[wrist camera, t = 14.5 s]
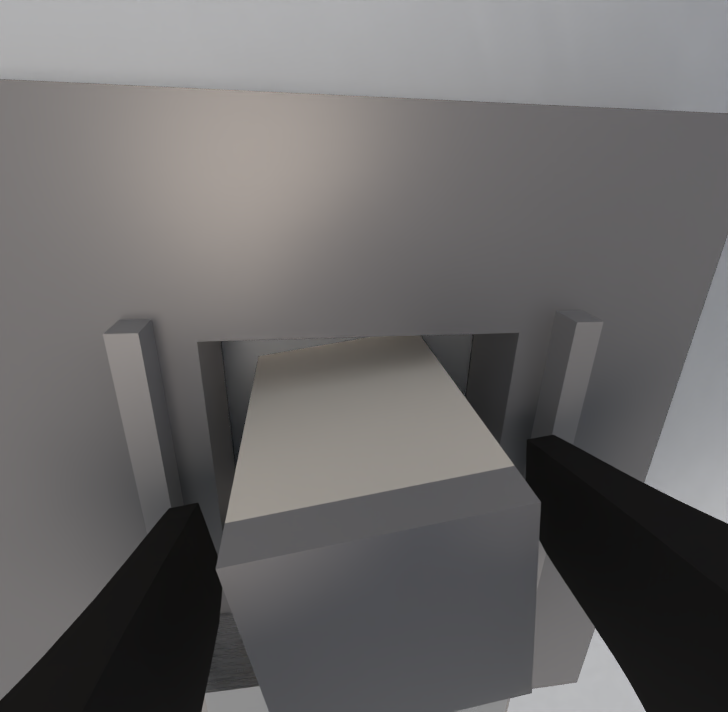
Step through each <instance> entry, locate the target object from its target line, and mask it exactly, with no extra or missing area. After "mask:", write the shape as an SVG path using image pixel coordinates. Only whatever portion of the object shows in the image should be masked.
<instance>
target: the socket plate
mask: <svg viewBox="0 0 728 712" xmlns="http://www.w3.org/2000/svg"><path fill="white" fill-rule="evenodd" d="M727 235H728V113H707V112H685V111H664V110H643V109H622V108H600V107H579V106H558V105H537V104H515V103H494V102H473V101H452V100H430V99H409V98H388V97H367V96H345V95H324V94H303V93H282V92H260V91H239V90H218V89H197V88H175V87H154V86H133V85H112V84H91V83H69V82H48V81H27V80H6V79H0V700H1V699H2V698H3V697H4V696H5V695H6V694H7V693H8V692H9V691H10V690H11V689H12V688H13V687H14V686H15V685H16V684H17V683H18V682H19V681H20V680H21V679H22V678H23V677H24V676H25V675H26V674H27V673H28V672H29V671H30V670H31V668H32V667H33V666H34V665H35V664H36V663H37V662H38V661H39V660H40V659H41V658H42V657H43V656H44V655H45V654H46V652H47V651H48V650H49V649H50V648H51V647H52V646H53V645H54V644H55V642H56V641H57V640H58V639H59V638H60V637H61V636H62V635H63V633H64V632H65V631H66V630H67V629H68V628H69V627H70V626H71V624H72V623H73V622H74V621H75V620H76V619H77V618H78V617H79V616H80V614H81V613H82V612H83V611H84V610H85V609H86V608H87V607H88V605H89V604H90V603H91V602H92V601H93V600H94V599H95V597H96V596H97V595H98V594H99V593H100V592H101V590H102V589H103V588H104V587H105V585H106V584H107V583H108V582H109V581H110V579H111V578H112V577H113V576H114V575H115V573H116V572H117V571H118V570H119V569H120V567H121V566H122V565H123V564H124V563H125V561H126V560H127V559H128V558H129V557H130V555H131V554H132V553H133V552H134V550H135V549H136V548H137V547H138V545H139V544H140V543H141V542H142V540H143V539H144V538H145V537H146V535H147V534H148V533H149V532H150V531H151V529H152V528H153V527H154V526H155V524H156V523H157V522H158V521H159V519H160V518H161V517H162V516H163V515H164V514H165V512H166V511H167V510H168V509H169V508H173V507H178V506H183V505H188V504H194V503H199V506H200V508H201V511H202V514H203V516H204V519H205V522H206V525H207V527H208V530H209V533H210V536H211V538H212V541H213V544H214V547H215V549H216V552H217V555H219V550H220V545H221V540H222V535H223V530H224V525H225V520H226V515H227V510H228V505H229V500H230V495H231V490H232V485H233V480H234V476H235V463H234V454H233V445H232V436H231V427H230V418H229V409H228V400H227V391H226V382H225V373H224V364H223V355H222V346H221V341H241V340H277V339H313V338H350V337H386V336H423V335H459V334H474V337H473V345H472V353H471V361H470V368H469V376H468V384H467V392H466V399H467V401H468V402H469V403H470V405H471V406H472V408H473V409H474V410H475V412H476V413H477V414H478V416H479V417H480V419H481V420H482V421H483V423H484V424H485V426H486V427H487V428H488V430H489V431H490V432H491V434H492V435H493V437H494V438H495V439H496V441H497V442H498V443H499V445H500V446H501V448H502V449H503V450H504V452H505V453H506V454H507V456H508V457H509V459H510V460H511V461H512V463H513V464H514V466H515V467H516V468H517V470H518V471H519V472H520V474H521V475H522V477H523V478H524V479H525V480H526V447H527V439H532V438H538V437H543V436H548V435H555V436H557V437H559V438H561V439H563V440H565V441H567V442H569V443H571V444H573V445H574V446H576V447H578V448H580V449H582V450H584V451H586V452H587V453H589V454H591V455H593V456H595V457H597V458H598V459H600V460H602V461H604V462H606V463H607V464H609V465H611V466H613V467H615V468H617V469H619V470H620V471H622V472H624V473H626V474H628V475H630V476H632V477H633V478H635V479H637V480H639V481H641V482H643V483H644V481H645V478H646V475H647V472H648V469H649V466H650V463H651V460H652V457H653V454H654V451H655V448H656V446H657V443H658V440H659V437H660V434H661V431H662V428H663V425H664V422H665V419H666V416H667V413H668V410H669V407H670V404H671V401H672V398H673V395H674V392H675V389H676V386H677V383H678V380H679V377H680V374H681V371H682V368H683V365H684V362H685V359H686V356H687V353H688V350H689V348H690V345H691V342H692V339H693V336H694V333H695V330H696V327H697V324H698V321H699V318H700V315H701V312H702V309H703V306H704V303H705V300H706V297H707V294H708V291H709V288H710V285H711V282H712V279H713V276H714V273H715V270H716V267H717V264H718V261H719V258H720V255H721V252H722V250H723V247H724V244H725V241H726V238H727ZM224 613H232V612H231V609H230V606H229V604H228V601H227V598H226V596H225V593H224V590H223V588H222V600H221V610H220V614H224ZM594 630H595V627H594V625H593V624H592V622H591V621H590V619H589V618H588V616H587V615H586V613H585V612H584V610H583V609H582V607H581V606H580V604H579V603H578V601H577V600H576V598H575V597H574V595H573V594H572V592H571V591H570V589H569V588H568V586H567V585H566V583H565V582H564V580H563V578H562V577H561V575H560V574H559V572H558V571H557V569H556V568H555V566H554V565H553V563H552V562H551V560H550V558H549V557H548V555H547V554H546V552H545V550H544V548H543V546H542V544H541V542H540V540H539V553H538V574H537V594H536V615H535V635H534V656H533V676H532V689H534V688H541V687H548V686H555V685H562V684H569V683H576V682H577V680H578V677H579V674H580V671H581V668H582V665H583V662H584V659H585V656H586V653H587V650H588V647H589V644H590V642H591V639H592V636H593V633H594ZM509 701H510V698H509V699H508V700H507V704H506V708H505V712H507V709H508V705H509ZM202 712H208V710H207V705H206V700H205V697H204V702H203V707H202Z"/></svg>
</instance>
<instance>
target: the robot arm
mask: <svg viewBox="0 0 728 712" xmlns="http://www.w3.org/2000/svg"><path fill="white" fill-rule="evenodd" d="M525 481H526V482H527V483H528V485H529V486H530V488H531V489H532V490H533V492H534V493H535V494H536V496H537V497H538V499H539V500H540V501H541V512H540V532H539V540H540V542H541V544H542V546H543V548H544V550H545V552H546V554H547V555H548V557H549V558H550V560H551V562H552V563H553V565H554V566H555V568H556V569H557V571H558V572H559V574H560V575H561V577H562V578H563V580H564V582H565V583H566V585H567V586H568V588H569V589H570V591H571V592H572V594H573V595H574V597H575V598H576V600H577V601H578V603H579V604H580V606H581V607H582V609H583V610H584V612H585V613H586V615H587V616H588V618H589V619H590V621H591V622H592V624H593V625H594V627H595V628H596V630H597V631H598V633H599V634H600V636H601V637H602V639H603V640H604V642H605V643H606V645H607V646H608V648H609V649H610V651H611V652H612V654H613V655H614V657H615V659H616V660H617V662H618V664H619V665H620V667H621V668H622V670H623V672H624V673H625V675H626V677H627V678H628V680H629V682H630V683H631V685H632V687H633V689H634V691H635V692H636V694H637V696H638V698H639V700H640V701H641V703H642V705H643V707H644V709H645V711H646V712H728V524H727V523H725V522H723V521H721V520H718V519H716V518H714V517H712V516H710V515H708V514H706V513H704V512H701V511H699V510H697V509H695V508H693V507H691V506H689V505H687V504H685V503H682V502H680V501H678V500H676V499H674V498H672V497H670V496H668V495H666V494H664V493H662V492H660V491H658V490H656V489H654V488H653V487H651V486H649V485H647V484H645V483H643V482H641V481H639V480H637V479H635V478H633V477H632V476H630V475H628V474H626V473H624V472H622V471H620V470H619V469H617V468H615V467H613V466H611V465H609V464H607V463H606V462H604V461H602V460H600V459H598V458H597V457H595V456H593V455H591V454H589V453H587V452H586V451H584V450H582V449H580V448H578V447H576V446H574V445H573V444H571V443H569V442H567V441H565V440H563V439H561V438H559V437H557V436H555V435H548V436H543V437H538V438H532V439H527V447H526V480H525ZM217 560H218V555H217V552H216V549H215V547H214V544H213V541H212V538H211V536H210V533H209V530H208V527H207V525H206V522H205V519H204V516H203V514H202V511H201V508H200V506H199V503H194V504H188V505H183V506H178V507H173V508H169V509H168V510H167V511H166V512H165V514H164V515H163V516H162V517H161V518H160V519H159V521H158V522H157V523H156V524H155V526H154V527H153V528H152V529H151V531H150V532H149V533H148V534H147V535H146V537H145V538H144V539H143V540H142V542H141V543H140V544H139V545H138V547H137V548H136V549H135V550H134V552H133V553H132V554H131V555H130V557H129V558H128V559H127V560H126V561H125V563H124V564H123V565H122V566H121V567H120V569H119V570H118V571H117V572H116V573H115V575H114V576H113V577H112V578H111V579H110V581H109V582H108V583H107V584H106V585H105V587H104V588H103V589H102V590H101V592H100V593H99V594H98V595H97V596H96V597H95V599H94V600H93V601H92V602H91V603H90V604H89V605H88V607H87V608H86V609H85V610H84V611H83V612H82V613H81V614H80V616H79V617H78V618H77V619H76V620H75V621H74V622H73V623H72V624H71V626H70V627H69V628H68V629H67V630H66V631H65V632H64V633H63V635H62V636H61V637H60V638H59V639H58V640H57V641H56V642H55V644H54V645H53V646H52V647H51V648H50V649H49V650H48V651H47V652H46V654H45V655H44V656H43V657H42V658H41V659H40V660H39V661H38V662H37V663H36V664H35V665H34V666H33V667H32V668H31V670H30V671H29V672H28V673H27V674H26V675H25V676H24V677H23V678H22V679H21V680H20V681H19V682H18V683H17V684H16V685H15V686H14V687H13V688H12V689H11V690H10V691H9V692H8V693H7V694H6V695H5V696H4V697H3V698H2V699H1V700H0V712H202V707H203V702H204V697H205V692H206V687H207V682H208V677H209V673H210V668H211V663H212V658H213V653H214V647H215V642H216V637H217V632H218V627H219V621H220V610H221V600H222V585H221V582H220V580H219V577H218V574H217V572H216V565H217Z"/></svg>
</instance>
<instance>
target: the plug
mask: <svg viewBox="0 0 728 712" xmlns="http://www.w3.org/2000/svg"><path fill="white" fill-rule="evenodd" d="M540 512H541V501H540V500H539V499H538V497H537V496H536V494H535V493H534V492H533V490H532V489H531V488H530V486H529V485H528V483H527V482H526V481H525V479H524V478H523V477H522V475H521V474H520V472H519V471H518V470H517V468H516V467H515V466H514V464H513V463H512V461H511V460H510V459H509V457H508V456H507V454H506V453H505V452H504V450H503V449H502V448H501V446H500V445H499V443H498V442H497V441H496V439H495V438H494V437H493V435H492V434H491V432H490V431H489V430H488V428H487V427H486V426H485V424H484V423H483V421H482V420H481V419H480V417H479V416H478V414H477V413H476V412H475V410H474V409H473V408H472V406H471V405H470V403H469V402H468V401H467V399H466V398H465V397H464V395H463V394H462V392H461V391H460V390H459V388H458V387H457V386H456V384H455V383H454V381H453V380H452V379H451V377H450V376H449V374H448V373H447V372H446V370H445V369H444V368H443V366H442V365H441V363H440V362H439V361H438V359H437V358H436V357H435V355H434V354H433V352H432V351H431V350H430V348H429V347H428V346H427V344H426V343H425V341H424V340H423V339H422V337H421V336H386V337H367V338H361V339H355V340H349V341H344V342H338V343H332V344H326V345H320V346H314V347H309V348H303V349H297V350H291V351H285V352H279V353H274V354H268V355H262V356H259V357H258V362H257V367H256V372H255V377H254V382H253V386H252V391H251V396H250V401H249V406H248V411H247V416H246V421H245V426H244V431H243V436H242V441H241V446H240V451H239V456H238V461H237V466H236V471H235V476H234V480H233V485H232V490H231V495H230V500H229V505H228V510H227V515H226V520H225V525H224V530H223V535H222V540H221V545H220V550H219V555H218V560H217V565H216V572H217V574H218V577H219V580H220V582H221V585H222V588H223V590H224V593H225V596H226V598H227V601H228V604H229V606H230V609H231V612H232V614H233V617H234V620H235V622H236V625H237V628H238V630H239V633H240V636H241V638H242V641H243V644H244V646H245V649H246V652H247V654H248V657H249V660H250V663H251V665H252V668H253V671H254V673H255V676H256V679H257V681H258V684H259V687H260V689H261V692H262V695H263V697H264V700H265V703H266V705H267V708H268V711H269V712H455V711H459V710H463V709H467V708H471V707H476V706H480V705H484V704H488V703H492V702H496V701H501V700H505V699H509V698H513V697H517V696H521V695H526V694H530V693H532V676H533V656H534V635H535V615H536V594H537V574H538V553H539V532H540Z"/></svg>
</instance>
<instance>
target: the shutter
mask: <svg viewBox="0 0 728 712" xmlns="http://www.w3.org/2000/svg"><path fill="white" fill-rule="evenodd" d="M205 700H206V705H207V710H208V712H269V711H268V708H267V705H266V703H265V700H264V697H263V695H262V692H261V689H260V687H259V684H258V681H257V679H256V676H255V673H254V671H253V668H252V665H251V663H250V660H249V657H248V654H247V652H246V649H245V646H244V644H243V641H242V638H241V636H240V633H239V630H238V628H237V625H236V622H235V620H234V617H233V614H232V613H224V614H220V621H219V627H218V632H217V637H216V642H215V647H214V653H213V658H212V663H211V668H210V673H209V677H208V682H207V687H206V692H205ZM507 700H508V699H505V700H501V701H496V702H492V703H488V704H484V705H480V706H476V707H471V708H467V709H463V710H459V711H455V712H505V708H506V704H507Z"/></svg>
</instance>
